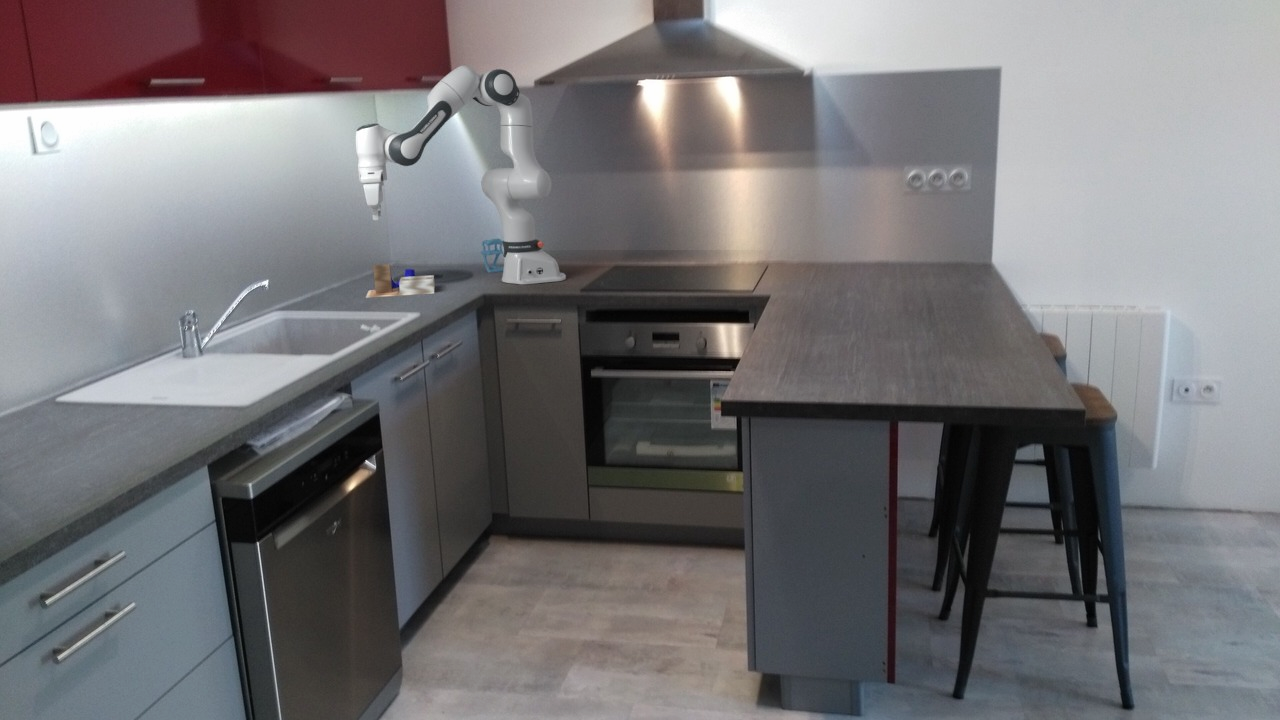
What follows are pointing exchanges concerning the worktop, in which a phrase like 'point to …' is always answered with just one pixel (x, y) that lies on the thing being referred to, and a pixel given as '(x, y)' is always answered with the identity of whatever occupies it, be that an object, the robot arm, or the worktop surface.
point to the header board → (409, 287)
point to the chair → (491, 252)
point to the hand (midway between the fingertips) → (377, 218)
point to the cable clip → (407, 274)
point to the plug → (382, 278)
